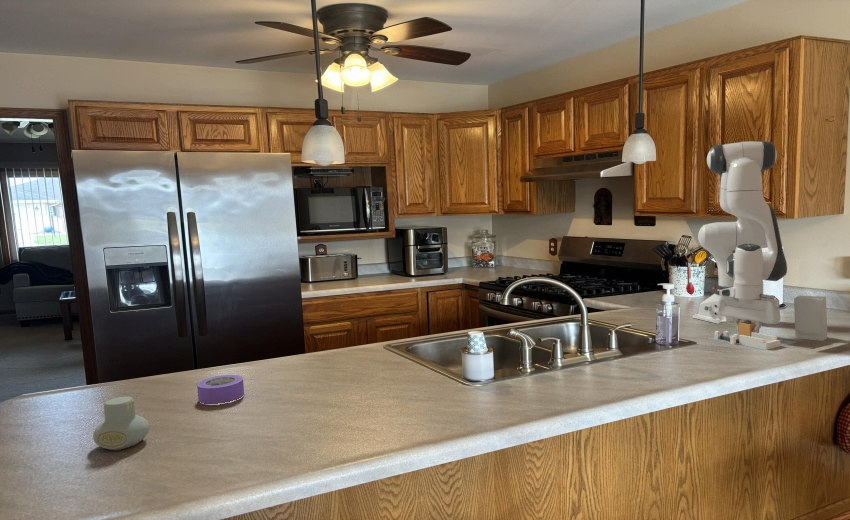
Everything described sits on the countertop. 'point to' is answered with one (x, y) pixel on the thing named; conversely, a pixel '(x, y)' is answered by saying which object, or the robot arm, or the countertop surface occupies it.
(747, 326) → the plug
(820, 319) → the skincare box
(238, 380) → the tape roll
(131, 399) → the air freshener
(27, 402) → the countertop surface
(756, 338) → the board
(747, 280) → the robot arm
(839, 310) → the countertop surface
